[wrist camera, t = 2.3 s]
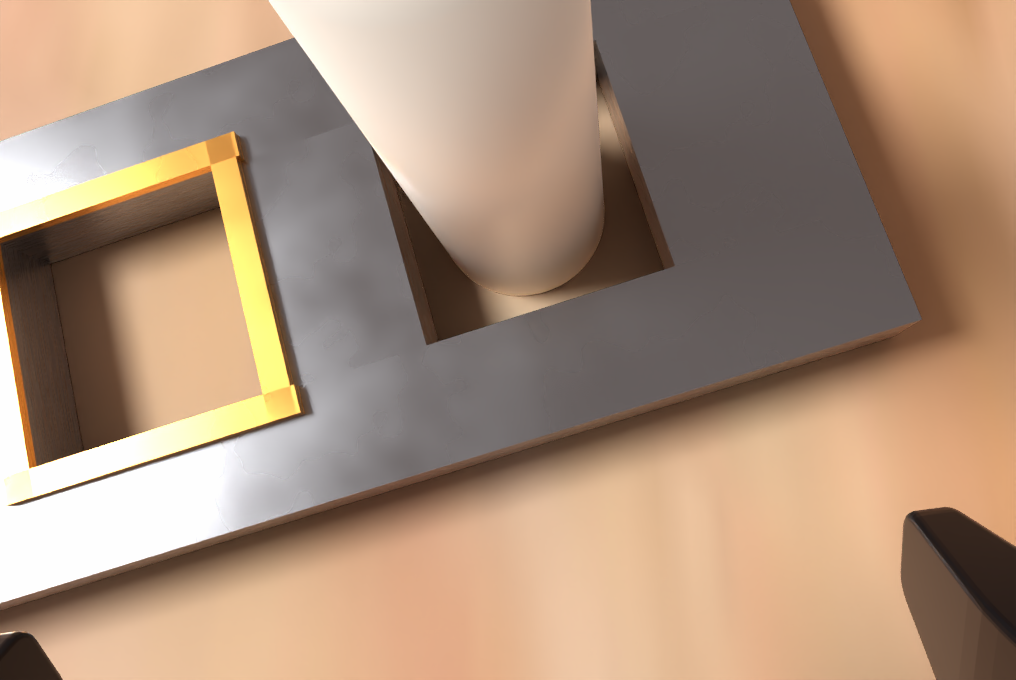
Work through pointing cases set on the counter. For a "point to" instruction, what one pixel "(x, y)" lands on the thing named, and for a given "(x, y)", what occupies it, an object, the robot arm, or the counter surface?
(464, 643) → the counter surface
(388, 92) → the cream peg
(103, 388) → the counter surface
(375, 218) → the grey flat block
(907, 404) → the counter surface
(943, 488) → the counter surface
